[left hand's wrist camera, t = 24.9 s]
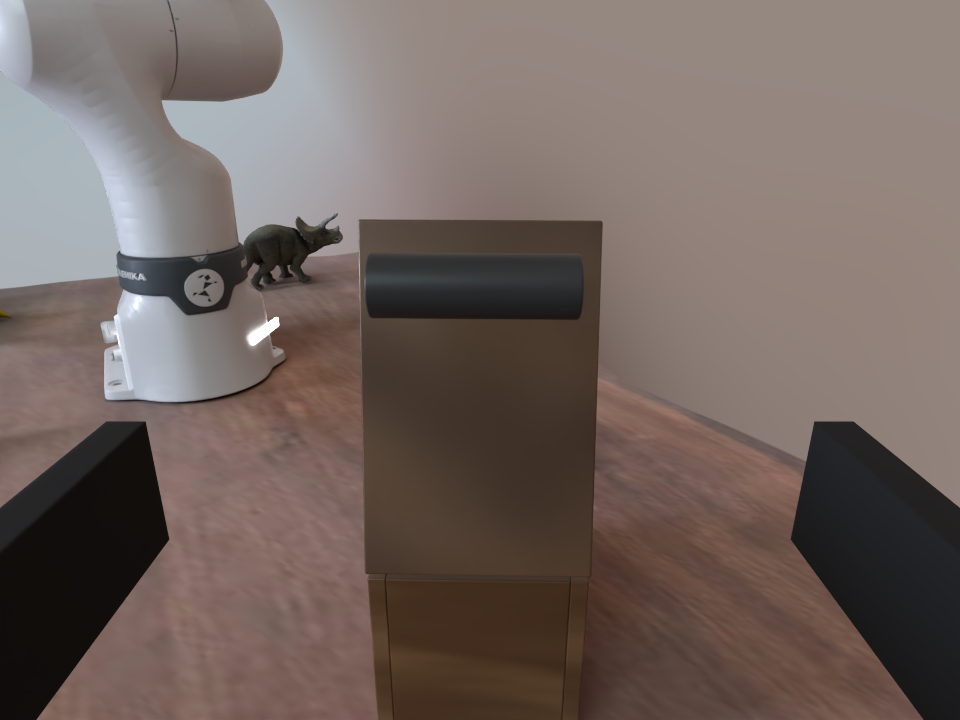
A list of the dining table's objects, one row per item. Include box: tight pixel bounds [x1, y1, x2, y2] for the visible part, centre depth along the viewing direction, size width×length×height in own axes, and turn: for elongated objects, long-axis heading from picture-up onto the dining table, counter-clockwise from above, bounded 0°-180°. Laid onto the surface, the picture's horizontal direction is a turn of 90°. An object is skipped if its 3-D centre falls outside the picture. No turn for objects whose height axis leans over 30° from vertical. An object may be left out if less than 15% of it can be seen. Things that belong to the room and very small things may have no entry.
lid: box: [358, 220, 603, 577], centre depth 22 cm, size 14×9×9 cm
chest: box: [368, 574, 589, 720], centre depth 35 cm, size 14×9×9 cm
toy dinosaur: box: [243, 214, 343, 290], centre depth 107 cm, size 22×8×11 cm, turn 131°
